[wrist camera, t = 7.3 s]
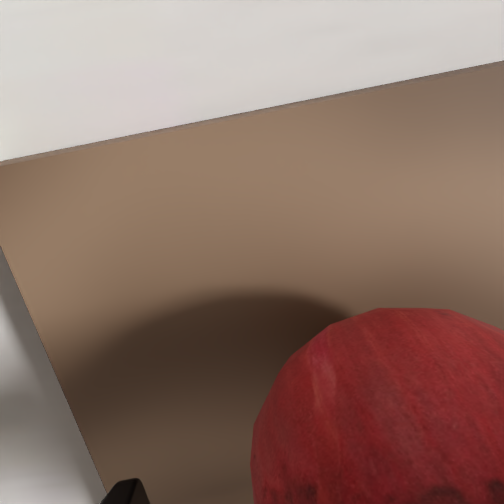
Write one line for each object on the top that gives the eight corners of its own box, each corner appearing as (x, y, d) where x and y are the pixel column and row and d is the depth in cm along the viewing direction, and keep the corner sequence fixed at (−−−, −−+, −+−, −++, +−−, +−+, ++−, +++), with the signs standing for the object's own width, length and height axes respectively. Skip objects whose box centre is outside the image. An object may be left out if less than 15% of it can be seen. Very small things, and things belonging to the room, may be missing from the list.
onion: (210, 418, 11) (192, 1073, 4) (292, 216, 9) (571, 666, 2) (405, 466, 12) (700, 1050, 5) (510, 291, 11) (1232, 771, 3)
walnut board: (555, 436, 14) (591, 474, 13) (143, 512, 15) (134, 557, 13) (592, 42, 10) (652, 35, 9) (4, 160, 10) (-32, 172, 9)
